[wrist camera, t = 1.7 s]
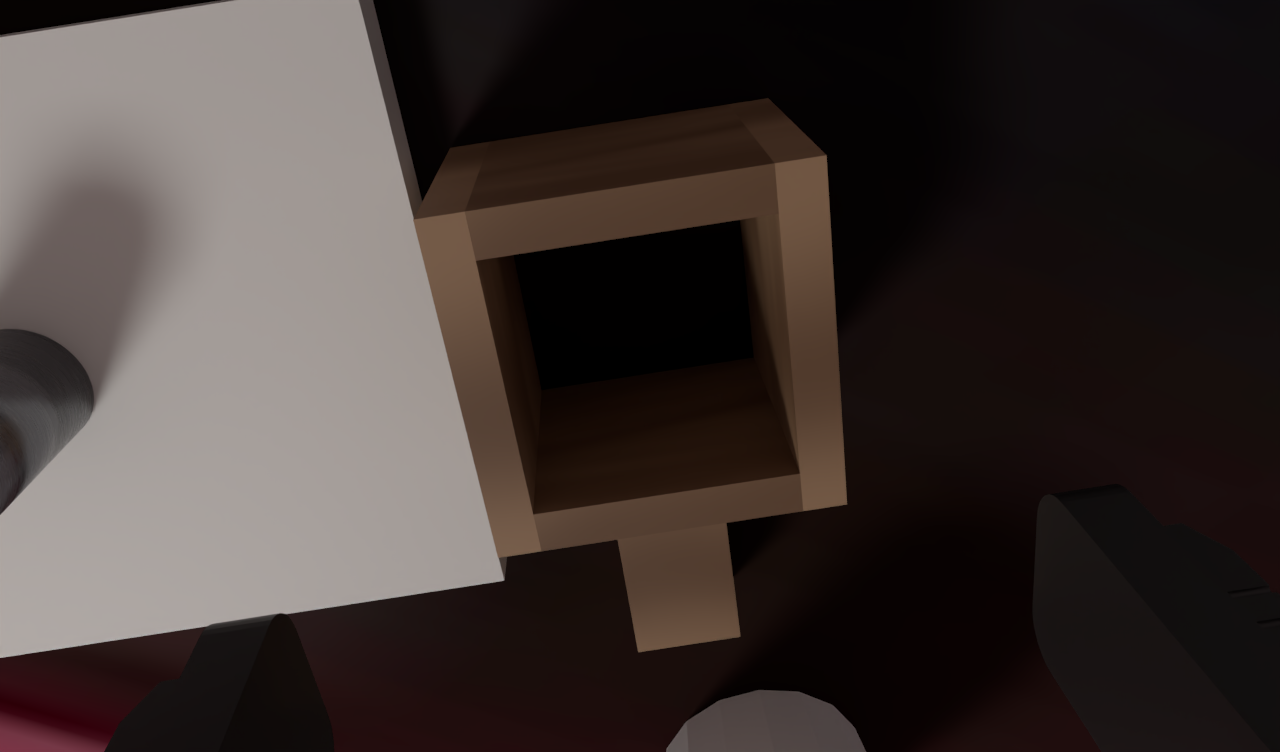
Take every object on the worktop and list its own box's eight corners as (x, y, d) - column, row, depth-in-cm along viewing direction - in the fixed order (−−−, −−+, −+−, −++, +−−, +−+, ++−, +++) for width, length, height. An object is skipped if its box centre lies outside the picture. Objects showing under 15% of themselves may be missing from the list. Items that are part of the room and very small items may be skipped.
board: (367, -23, 18) (354, -19, 17) (507, 549, 24) (504, 580, 23) (-537, 119, 18) (-606, 133, 17) (-183, 655, 24) (-219, 691, 23)
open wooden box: (450, 147, 20) (412, 219, 15) (767, 98, 19) (826, 154, 15) (555, 609, 25) (550, 767, 20) (807, 571, 25) (859, 720, 20)
